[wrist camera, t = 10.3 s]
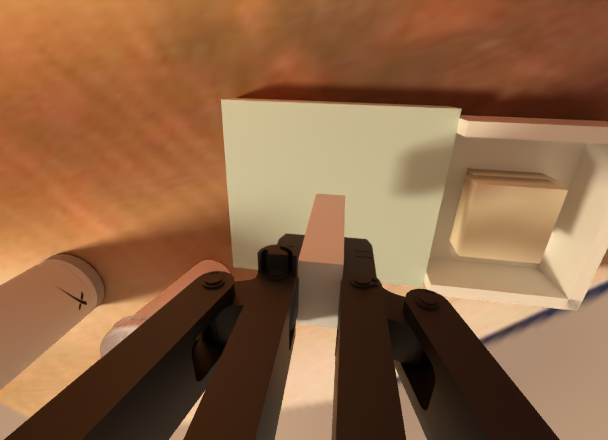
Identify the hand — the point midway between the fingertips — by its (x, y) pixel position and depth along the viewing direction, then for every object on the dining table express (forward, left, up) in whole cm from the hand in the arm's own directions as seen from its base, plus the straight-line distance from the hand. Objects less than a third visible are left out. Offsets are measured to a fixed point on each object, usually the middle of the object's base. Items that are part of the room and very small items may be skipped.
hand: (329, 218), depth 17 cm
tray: (+1, +11, -7) cm, 13 cm away
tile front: (0, +10, -4) cm, 11 cm away
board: (+1, 0, -7) cm, 7 cm away
